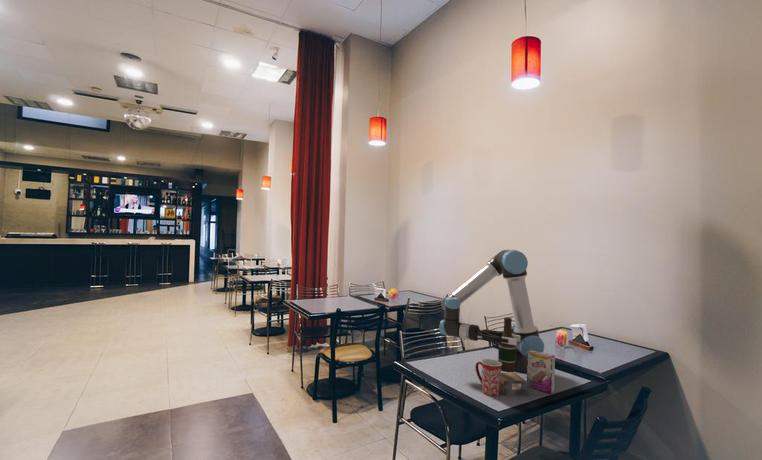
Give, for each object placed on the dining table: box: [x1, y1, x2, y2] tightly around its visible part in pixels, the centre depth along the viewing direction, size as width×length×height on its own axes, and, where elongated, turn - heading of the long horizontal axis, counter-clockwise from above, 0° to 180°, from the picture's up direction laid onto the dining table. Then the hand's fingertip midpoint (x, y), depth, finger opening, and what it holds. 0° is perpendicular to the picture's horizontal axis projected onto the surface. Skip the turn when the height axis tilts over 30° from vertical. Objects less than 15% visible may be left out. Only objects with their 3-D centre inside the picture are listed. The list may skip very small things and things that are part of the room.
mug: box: [475, 358, 502, 397], centre depth 158 cm, size 13×9×14 cm
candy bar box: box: [526, 350, 556, 395], centre depth 163 cm, size 11×5×16 cm, turn 49°
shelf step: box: [499, 372, 533, 396], centre depth 163 cm, size 13×16×6 cm
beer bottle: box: [497, 316, 516, 373], centre depth 165 cm, size 8×8×24 cm
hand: (518, 340), depth 162 cm, fingers closed on beer bottle, 7 cm apart
